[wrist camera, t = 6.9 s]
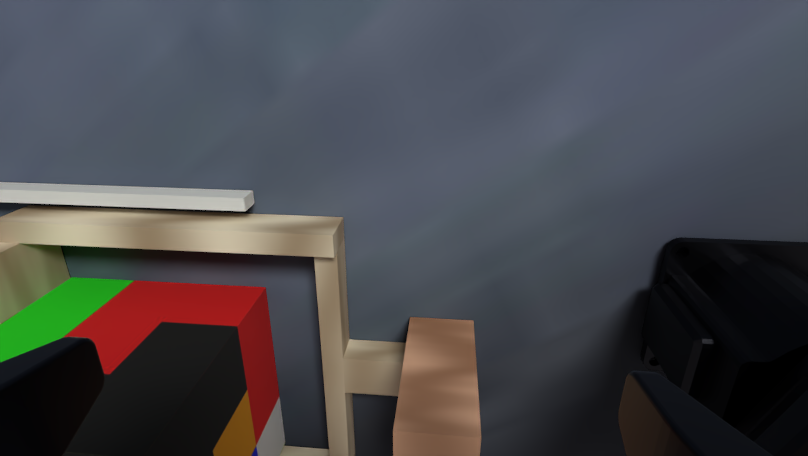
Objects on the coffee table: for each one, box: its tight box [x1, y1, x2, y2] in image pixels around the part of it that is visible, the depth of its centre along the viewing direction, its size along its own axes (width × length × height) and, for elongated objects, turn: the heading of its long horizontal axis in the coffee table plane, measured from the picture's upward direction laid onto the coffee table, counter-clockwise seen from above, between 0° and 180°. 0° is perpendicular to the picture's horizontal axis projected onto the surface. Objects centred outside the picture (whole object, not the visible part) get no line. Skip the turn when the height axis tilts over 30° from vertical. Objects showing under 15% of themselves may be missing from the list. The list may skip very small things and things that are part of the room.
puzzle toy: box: [0, 277, 285, 456], centre depth 21 cm, size 10×10×10 cm
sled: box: [0, 205, 481, 456], centre depth 21 cm, size 21×15×7 cm
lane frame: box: [0, 182, 254, 211], centre depth 26 cm, size 19×24×1 cm
